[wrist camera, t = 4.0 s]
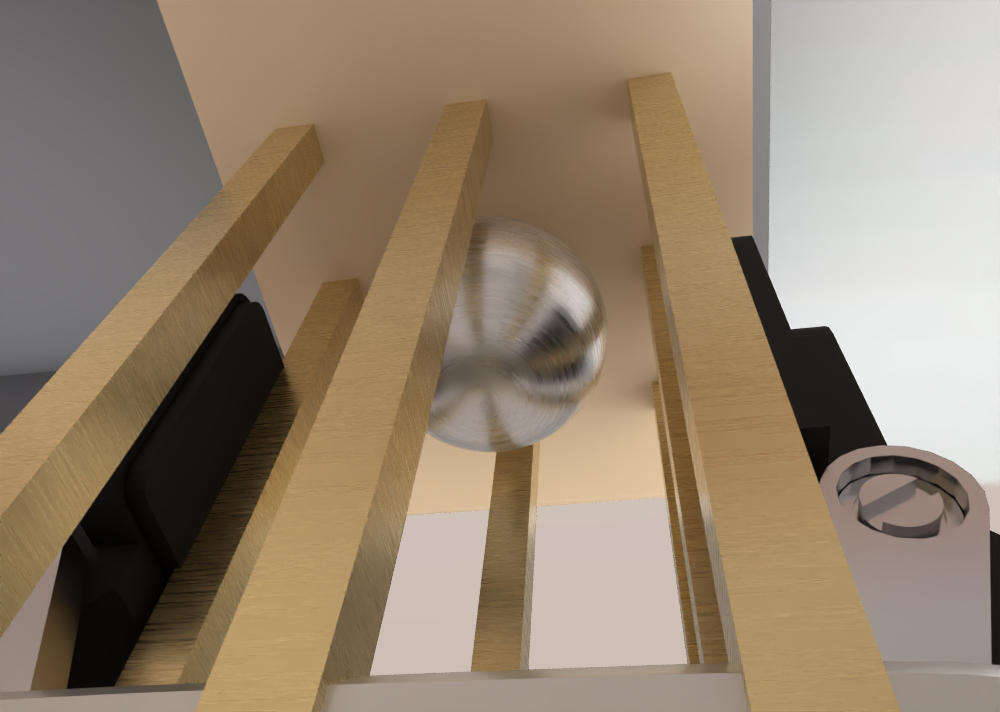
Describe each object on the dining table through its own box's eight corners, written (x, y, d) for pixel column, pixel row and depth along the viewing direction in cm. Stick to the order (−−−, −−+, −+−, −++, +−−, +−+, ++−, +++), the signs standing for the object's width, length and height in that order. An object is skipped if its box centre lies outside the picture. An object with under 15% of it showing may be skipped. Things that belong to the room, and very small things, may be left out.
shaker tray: (-311, -18, 20) (-754, 75, 13) (732, -216, 16) (841, -225, 10) (-52, 392, 26) (-263, 594, 20) (738, 313, 23) (807, 526, 16)
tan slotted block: (275, 128, 13) (-425, 909, 4) (671, 72, 12) (973, 908, 3) (369, 433, 16) (107, 1255, 7) (688, 406, 15) (859, 1304, 6)
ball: (372, 194, 13) (316, 303, 10) (593, 165, 13) (599, 273, 10) (418, 374, 15) (383, 510, 12) (613, 356, 14) (623, 493, 12)
